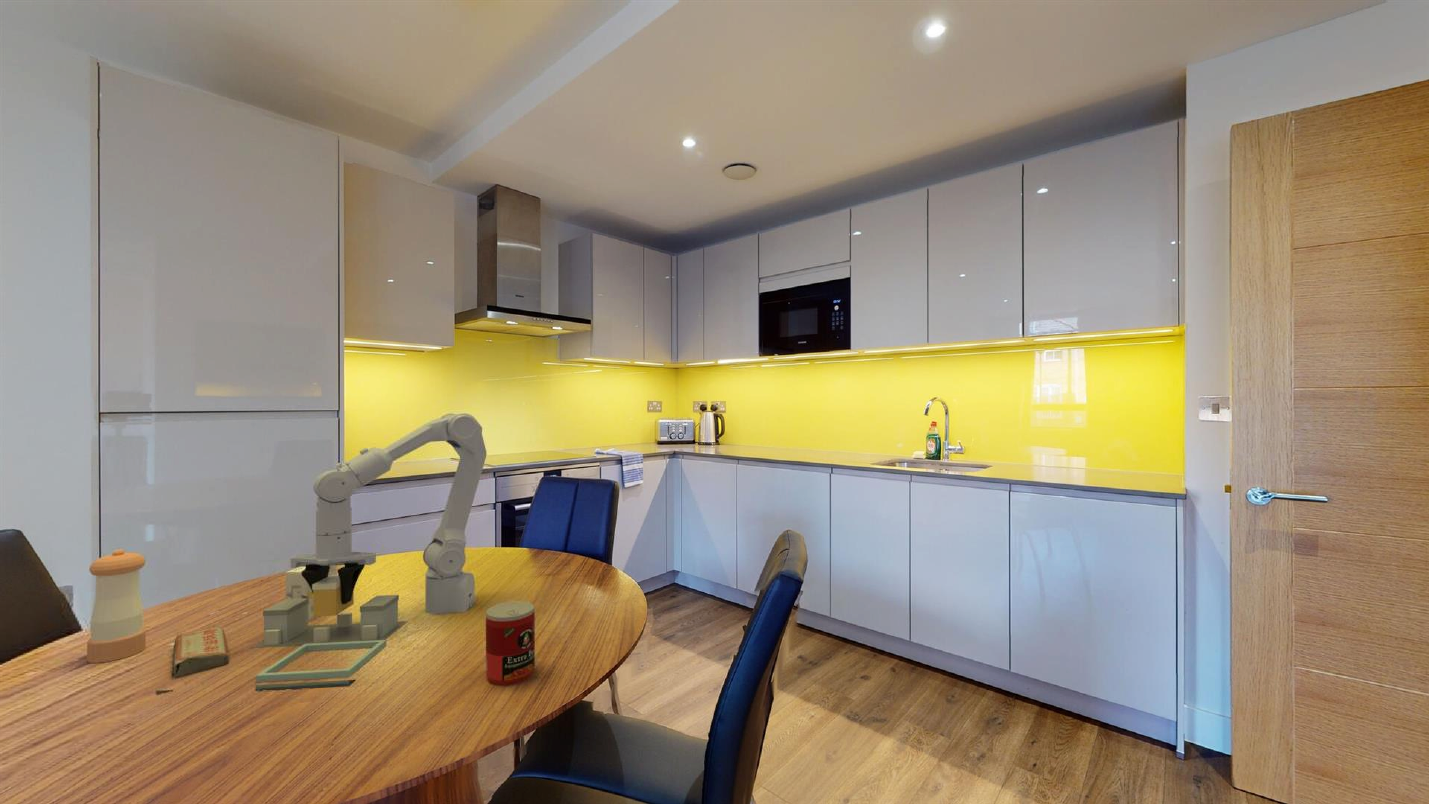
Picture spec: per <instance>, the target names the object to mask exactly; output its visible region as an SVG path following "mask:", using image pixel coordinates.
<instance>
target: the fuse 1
mask: <svg viewBox="0 0 1429 804" xmlns="http://www.w3.org/2000/svg"><path fill="white" fill-rule="evenodd" d="M308 604H309V598H308V599H284V600H281V601H280V602H278V603H275V604H274V605H272V606H270V607H268V608H266V609H264V610H262V616H263V632H264V631H266V630H275V629H281V642H287V641H289V640H291V639H292V638H294V637H296V636H297V635H299V634H300V633H302V632H304V631H305V630H307V629H308V626H309V625H308V622H309V621H308Z"/></svg>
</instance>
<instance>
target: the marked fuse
mask: <svg viewBox="0 0 1429 804" xmlns="http://www.w3.org/2000/svg"><path fill="white" fill-rule="evenodd" d="M312 590H313V616H318V617H328V616H330V617H331V616H333V617H334V616H337V614H339V613H343V611H345V610H346V609H348V608H350V607H351V606H353V605H354V598H355V597H354V595H355V594H354V591H355V590H354V591H353V595H352V599H351V601H350V602H348V603H346V604H342V602H341V583H340V578H339V575H338V574H337V575H331V576H329V577H327V578H325V579H323V580H321V581H319V582H317V583H315V584H313V585H312Z"/></svg>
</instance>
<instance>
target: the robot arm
mask: <svg viewBox="0 0 1429 804" xmlns="http://www.w3.org/2000/svg"><path fill="white" fill-rule="evenodd" d="M431 442H446V443H447V444H448V445H450V446H451V447H452V448H453V450H454V451H455V452H456V454H457V455H458V456H459V462H458V464H457V467H456V472H455V474H454V477H453V481H452V484H451V488H450V490H449V494H448V497H447V501H446V505H445V508H444V510H443V511H444V512H443V514H442V517H441V519H440V525H439V526H438V528H437V529H436V531H434V533H433V535H432V537H431V540H430V542H429V543H428V544H427V546H425V548H424V549H423V553H422V560H423V562H424V564H425V565H426V566H427V569H426V572H425V582H424V583H425V585H424V586H425V590H424V593H425V598H424V599H425V604H424V605H425V610H424V611H425V613H426V614H430V615H442V614H449V613H451V614H452V613H465V612H467V611H468V610H469V609H470V608H472V607H473V605H474V604H475V601H476V600H475V594H476V593H475V589H476V587H475V582H476V581H475V575H474V573H472V572H465V571H463V568H464V566H465V565H466V560H467V559H466V557H467V556H466V552H465V551H466V545H467V540H466V534H465V533H466V532H465V530H466V527H467V524H468V521H469V517H470V514H471V510H472V507H473V503H474V500H475V496H476V494H477V489H478V487H479V483H480V479H481V476H482V472H483V469H484V466H485V461H486V458H487V454H488V453H487V449H486V446H485V440H484V437H483V427H482V425H481V424H480V423H479V422H478V420H477V419H476V418H475V417H474V416H473V415H472V414H470V413H463V412H461V413H446V414H445V415H442V416H441V417H440V418H438V417H437V418H436V419H433V420H431V421H429V422H426V423H424V424H423V425H421V426H419V427H418V428H416V429H414V430H412V431H411V432H409V433H407V434H406V435H405V436H403V437H401V438H400V439H398V440H396V441H394V442H393V443H391V444H389V445H387V446H386V447H384V448H379V447H376V446H375V447H371V448H369V449H368V448H366V447H365V448H363V449H360V450H359V453H360V454H358V455H357V456H355V457H353V458H351V459H349V460H347V461H345V462H344V463H342V462H339V463H337V464H335V468H336V469H334V470H333V469H331V470H327V471H324V472H322V473H321V474H319V475H318V477H317V478H316V479H315V482H314V484H313V486H312V489H313V491H314V493H315V495H316V496H317V497H316V503H315V506H316V511H315V553H312V554H299V555H295V556H293V557H290V568H291V569H296V568H299V567H305V566H306V568H305V570H304V571H302V572H301V574H302V576H303V578H304V579H305V580H306V581H307V583H308V585H309V586H310V588H311V590H312V585H313V584H315V583H317V582H319V581H321V580H323V579H325V578H327V577H328V573H329V569H330V566H331V565H337V566H342V567H340V568H337V575H339V578H340V583H341V602H342V604H346V603H348V602H350V601H351V599H352V595H353V591H355V587H356V584H357V582H358V580H359V577H360V575H361V574H362V571H363V570H364V568H365V567H366V566H372V565H373V564H375V563H376V562H377V552H365V551H352V548H353V547H352V546H353V544H352V541H353V539H352V534H353V533H352V529H353V528H352V526H353V525H352V524H353V523H352V518H353V517H352V516H353V515H352V514H353V513H352V504H351V503H352V502H351V501H352V500H351V499H352V498H351V496H352V495H353V493H354V492H355V491H356V489H360V488H362V487H364V486H366V485H367V484H369V483H370V482H373V481H374V480H376V479H377V478H379V477H381V476H382V475H385V474H386V473H388V472H389V471H391V468H392V466H393V463H394V462H395V461H396V460H398V459H400V458H403V457H405V456H406V455H408V454H410V453H412V452H414V451H415V450H417V449H419V448H422V447H423V446H425V445H426V444H429V443H431ZM312 593H313V590H312Z"/></svg>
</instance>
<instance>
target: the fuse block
mask: <svg viewBox="0 0 1429 804" xmlns="http://www.w3.org/2000/svg"><path fill="white" fill-rule="evenodd" d="M407 623H408V620H398V625H397V626H396V627H395V628H394V629H392V630H391V631H390V632H389V633H387V634H386V635H385V636H384V637H378V625H364V626H363V627H362V638H361V622H357V623H356V622H355V623H353V613H352V612H340V613H339V614H337V615H336V623H333V624H330V623H329V624H313V625H310V624H309V625H308V629H307V630H305V631H304V632H302V633H300V634H299V635H297V636H296V637H294V638H292V639H291V640H289V641H287V642H281V629H275V630H266V631H264V630H263V640H261V641H260V642H257V643H256V644H254V645H253V646H251V647H250V649H259V648H260V649H262V648H277V647H278V648H279V647H280V648H281V647H301V646H302V645H304V644H313V643H333V642H354V641H374V640H386V641H387V639H388V638H389V637H390V636H392V635H393V634H394V633H395V632H396V631H398V630H399V629H401V627H403V625H405V624H407Z"/></svg>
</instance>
